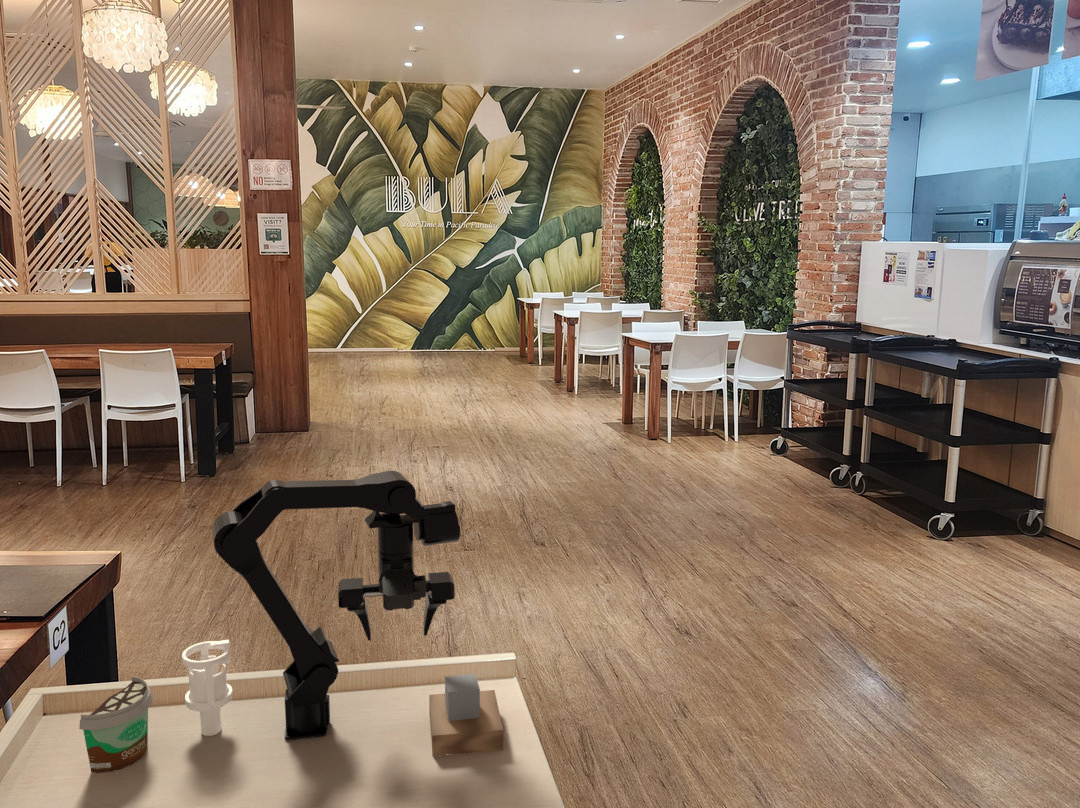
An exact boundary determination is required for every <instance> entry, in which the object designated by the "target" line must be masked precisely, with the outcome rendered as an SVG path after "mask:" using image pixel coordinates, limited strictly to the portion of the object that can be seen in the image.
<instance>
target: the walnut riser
mask: <svg viewBox="0 0 1080 808" xmlns="http://www.w3.org/2000/svg"><path fill="white" fill-rule="evenodd" d="M495 691H496V690H495V689H491V690H480V718H474V719H465V720H456V721H448V716H447V710H446V705H445V693H436V694H435V693H434V694H428V695H429V696H428V697H429V701H428V703H429V706H428V707H429V713H428V714H429V724H430V739H431V751H432V752H431V753H432V757H440V756H439V755H442V756H447V755H446V754H453V755H462V754H463V755H464V754H465V755H466V754H474V753H475V754H476V753H487V752H488V753H489V752H497V751H499V752H501V751H504V727H503V723H502V719H501V714H500V710H499V705H498V699H497V695H496V692H495Z"/></svg>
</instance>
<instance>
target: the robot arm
mask: <svg viewBox="0 0 1080 808" xmlns="http://www.w3.org/2000/svg"><path fill="white" fill-rule="evenodd" d="M416 496H417V494H416V488H415V487H414V485H413V484H412V483H411V482H410V481H409V480H408V479H407V478H406V477H405V476H404V474H402V473H401V472H399V471H396V470H386V471H381V472H376V473H371V474H368V475H366V476H363V477H360V478H355V479H354V478H353V479H329V480H327V479H326V480H320V479H319V480H286V481H285V480H283V481H282V480H278V479H273V480H269V481H267V482H265V483H264V485H263V486H261V487H260V488H259V489H258V490H257V491H255V492H254V493H252V494H251V495H250V496H248V497H247V498H244V500H242V501H241V502H240V503H238V504H237V505H236V507H234V508H233V509H232V510H230V511H226V512H223V513H221V514H220V515H219V516H217V517H216V519H215V520H214V522H212V523H213V524H212V525H211V536H212V540H213V547H214V550H215V552H216V554H217V555H218V556H219V557H220V558H221V559H222V560H223V561H224V562H225V563H226V564H227V565H228V566H229V567H230V568H231V569H232V570H234V571H235V572H236V573H237V574H239V575H240V577H242V578H244V580H245V581H246V583H247V585H248V586H249V588H250V589H251V590H252V592H253V594H254V595H255V597H257V600H258V601H259V603H260V604H261V605H262V607H263V609H264V610H265V611H266V613H267V615H268V617H269V618H270V620H271V621H272V622H273V624H274V626H275V627H276V629H277V630H278V632H279V634H280V635H281V636H282V638H283V639H284V642H285V643H286V644H287V646H288V647H289V651H290V653H291V656H292V659H293V661H292V662H291V663H290V664H289V665H288V666H287V667H286V668H285V670H283V672H282V676H283V679H284V682H285V687H286V689H285V693H284V694H285V695H284V712H285V713H284V715H285V717H284V718H285V728H284V729H285V730H284V739H285V740H296V739H304V738H305V739H306V738H314V737H322V736H326V735H327V734H328V726H330V725H331V703H330V695H329V694H328V691H329V689H330V686H332V685H333V684H334V683H335V682H336V680H337V678H338V674H339V668H338V665H337V663H339V662H340V659H339V657H338V654H337V652H336V650H335V646H334V645H333V642H331V641H330V640H329V639H327V637H326V635H325V632H324V630H323V628H322V626H319V627H318V628H316V629H315V630H313V629H312V628H310V627H309V626H308V625H307V624H306V623H305V621H304V620H303V618H302V617H301V615H300V613H299V612H298V610H297V608H296V607H295V605H294V604H293V603H292V601H291V599H290V598H289V596H288V595H287V592H286V591H285V590H284V588H283V586H282V585H281V584H280V581H278V580H279V579H277V577H276V575H275V574H274V572H273V571H272V569H271V567H270V566H269V564H268V563H267V561H266V560H265V558H264V555H263V552H262V551H261V548H260V545H259V542H258V539H259V538H260V537H261V536H262V535H264V533H266V531H267V529H268V528H269V526H270V525H272V523H273V522H274V521H275V519H276V518H277V517H278V516H279V514H281V513H282V512H284V510H285V511H286V510H304V509H305V510H311V509H315V510H316V509H340V508H341V509H343V508H360V509H365V510H369V511H372V512H371V513H369V514H368V516H366V517H364V522H365V524H366V525H367V526H368V528H369V529H377V557H378V559H377V562H378V566H377V567H378V583H375V584H374V583H372V584H363V581H364V579H363V577H357V578H355V577H354V578H353V577H352V578H342V579H340V581H339V582H338V587H337V588H338V590H337V591H338V593H337V594H338V595H337V596H338V599H337V600H338V608H341V609H346V611H347V612H353V613H355V615H356V616H357V618H358V619H359V621H360V623H361V626H362V628H363V631H364V634H365V636H366V638H367V641H372V636H371V635H372V633H371V624H370V617H369V612H368V605H367V598H368V597H369V598H371V597H382V605H383V606H382V607H383V609H384V610H386V611H393V610H401V609H403V610H410V609H413V607H414V606H415V601H420V600H422V599H423V598H425V600H424V601H425V602H424V612H423V624H422V625H423V627H422V629H423V636H424V637H427V635H428V633H429V630H430V627H431V624H432V620H433V618H434V616H435V613H436V611H437V610H438V609H439V607H440V606H441V605H445V604H446V603H447V602H448V601H451V600H455V598H456V596H455V595H456V594H455V593H456V592H455V591H456V589H455V582H454V579H453V575H452V574H451V573H450V572H449V571H440V572H428V573H427V580H426V575H424V574H423V575H417V574H415V571H414V567H415V565H414V564H415V563H414V562H415V561H414V537H415V539H416V541H421V543H422V545H423V546H425V547H427V546H434V545H435V546H436V545H441V544H448V543H455V542H458V541H459V540H460V536H461V526H460V523H459V518H458V514H457V512H456V504H455V503H453V502H452V501H451V500H450V501H449V500H448V501H443V502H440V503H432V504H425V505H423V503H422V502H421V501H419V499H418V498H417V497H416Z"/></svg>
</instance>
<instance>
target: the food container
mask: <svg viewBox="0 0 1080 808" xmlns="http://www.w3.org/2000/svg"><path fill="white" fill-rule="evenodd" d="M153 699H154V698H153V695H152V691H151V688H150V686H149V685H148V684H147V682H146V681H145V680H144V679H142V678H140V677H137V676H131V682H130V683H129V684H128V685H127V686H126V687H124V688H122V690H120V691H119V692H117V693H115V694H112V695H111V696H109V697H107V699H106V700H104V701H103V702H102V703H101V705H100V706H99V707H97V708H96V709H95V710H94V711H92V712H91V713H90V714H80V719H79V727H78V728H79V730H83V736H84V742H85V747H86V753H87V757H88V761H89V767H90V772H91V773H94V772H95V774H101V773H104V774H105V773H113V772H115V771H121V770H123V769H125V768H128V767H130V766H132V765H134V764H136V763H138V762H139V761H140V760H142V758H143V757H144V756H145V755H146V754H145V753H147V752H146V751H148V742H149V741H148V738H149V736H148V735H149V729H148V728H149V708H150V706H151V705H152V703H153ZM138 760H139V761H138ZM135 762H136V763H135Z"/></svg>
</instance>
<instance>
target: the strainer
mask: <svg viewBox="0 0 1080 808" xmlns="http://www.w3.org/2000/svg"><path fill="white" fill-rule="evenodd" d="M230 646H231V645H230V640H229V639H223V640H219V641H218V640H210V641H203V642H202V641H201V642H198V643H195V644H193V645H191V646H188V647H187V648H186V649H184V650H183V652H181V653H182V654H181V660H182V665H183V666H185V667H186V668H188V670H187V671H188V681H189V682H188V683H189V684H188V685H189V690H188V691H187V692H186V693H185V696H184V698H185V699H184V700H185V701H184V702H185V706H186V708H187V709H189V710H191V711H195V712H199V718H200V732H201V735H202V736H205V737H211V736H215V735H218V734H219V733H221V731H222V718H221V708H222V707H224V706H225V705H227V704H229V703H230V702H231V700H232V699H233V696H234V695H233V686H231V685H230V684H229V683H228V681H227V666H226V664H230V663H231V661H232V660H231V647H230ZM211 649H214V650H221V651H222V654H221V655H219V656H217V655H209V654H210V652H209V650H211ZM198 652H200V654H201V655H200V660H193V659H190V658H189V657H190V656H191V655H193V654H194V653H198ZM219 665H222V667H223V669H222V670H221V671H220V672H219V670H218V669H219V668H218V667H219Z"/></svg>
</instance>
